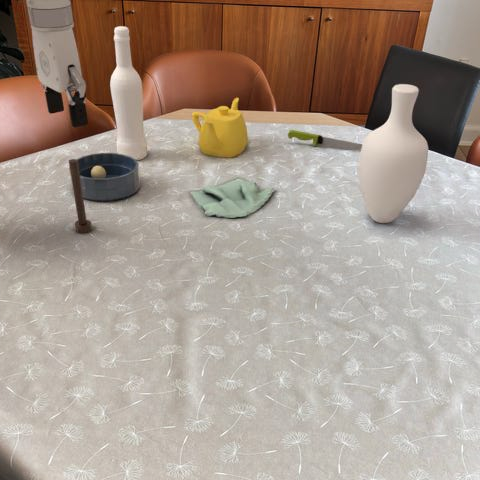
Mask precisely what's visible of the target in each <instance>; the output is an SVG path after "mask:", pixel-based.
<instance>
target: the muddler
mask: <svg viewBox="0 0 480 480" xmlns="http://www.w3.org/2000/svg"><path fill="white" fill-rule="evenodd" d="M76 159H77V158H76ZM76 159H75V158H71V159H69V160H68V165H69V166H68V168H69V167H70V170H69V174H70V173H71V176H70V180H71V179H72V182H71V186H72V185H73V188H72V191H73V197H74V198H73V199H74V202H75V210H76V216H77V220H76V221H74V230H75V232H76V233H78V234H88V233H90V232H92V230H93V227H92V221H91V220H90V219H87V214H86V207H85V201H84V197H83V193H82V186H81V180H80V173H79V167H78V160H76Z"/></svg>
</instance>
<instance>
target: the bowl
mask: <svg viewBox="0 0 480 480" xmlns="http://www.w3.org/2000/svg"><path fill="white" fill-rule="evenodd" d="M76 160H78V167H79V173H80V180H81V186H82V193H83V199H87V200H90V201H97V202H112V201H117V200H123V199H125V198H128V197H131V196H132V195H133V194H135V193H136V192H138V190H139V189H140V188H141V176H140V164H139V162H138V160H136V159H134V158H132V157H130V156H127V155H124V154H118V152H117V153H116V152H97V153H91V154H87V155H83V156H80V157H78V158H76ZM95 166H101V167H103V168H104V169H105V171H106V177H105V178H92V176H91V170H92V169H93V167H95ZM68 170H69V171H70V167H69V166H68ZM69 177H71V173H70V172H69ZM70 182H71V183H72V179H71V178H70ZM71 187H72V189H73V185H72V184H71Z"/></svg>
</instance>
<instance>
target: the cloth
mask: <svg viewBox="0 0 480 480" xmlns="http://www.w3.org/2000/svg"><path fill="white" fill-rule="evenodd" d="M202 187H203V188H202V190H198V191H190V194H191V196H192V198H193V199H194V200H195V202H196V204H198V206H199V207H200V209H201V210H203V211H205V212H204V214H205V216H206V217H215V218H224V219H225V218H226V219H235V218H247V216H249V215H251V214H253V213H255V212H257V211H258V210H259V209H261V208H262V206H264V205H265V204H266V202H268V201H269V199H270V198H271V197H272V195H273V193H274V192H275V191H276V190H275V188H274V187H270V188H269V187H267V188H265V189H264V190H262V189H260V188H259V186H258V185H257V182H255V181H253V182H248V181H246V180H244V179H242V178H236V179H234V180H231V181H229V182H226V183H223V184H221V185H219V186H217V185H205V186H202Z"/></svg>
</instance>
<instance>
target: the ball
mask: <svg viewBox="0 0 480 480" xmlns="http://www.w3.org/2000/svg"><path fill="white" fill-rule="evenodd" d="M91 176H92V178H105V177H106V171H105V169H104V168H103V167H101V166H95V167H93V169H92V170H91Z"/></svg>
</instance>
